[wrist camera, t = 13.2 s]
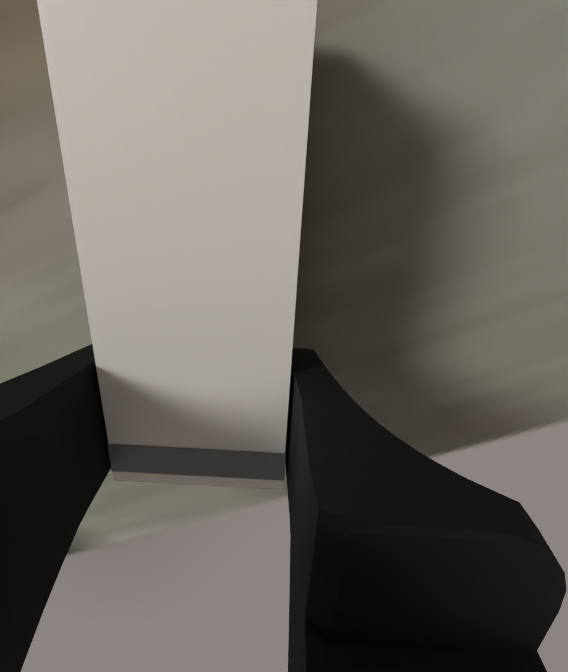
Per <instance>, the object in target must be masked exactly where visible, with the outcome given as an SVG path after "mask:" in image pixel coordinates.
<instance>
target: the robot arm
mask: <svg viewBox="0 0 568 672" xmlns="http://www.w3.org/2000/svg"><path fill="white" fill-rule="evenodd" d="M107 444H108V438H107V431H106V425H105V419H104V413H103V407H102V400H101V394H100V388H99V382H98V375H97V369H96V363H95V357H94V351H93V344H91V345H89V346H87V347H84V348H82V349H80V350H78V351H75V352H73V353H71V354H69V355H66V356H64V357H62V358H60V359H58V360H55V361H53V362H51V363H49V364H46V365H44V366H42V367H40V368H37V369H35V370H32V371H30V372H27V373H25V374H23V375H20V376H18V377H15V378H13V379H10V380H8V381H6V382H3V383H1V384H0V672H21V669H22V666H23V663H24V661H25V658H26V655H27V653H28V650H29V647H30V644H31V642H32V639H33V637H34V634H35V631H36V629H37V625H38V623H39V621H40V618H41V616H42V613H43V610H44V608H45V605H46V603H47V600H48V598H49V595H50V593H51V591H52V588H53V585H54V583H55V581H56V578H57V576H58V573H59V571H60V568H61V566H62V564H63V561H64V559H65V557H66V554H67V552H68V550H69V548H70V545H71V543H72V541H73V538H74V536H75V534H76V532H77V529H78V527H79V525H80V523H81V521H82V519H83V517H84V515H85V513H86V511H87V509H88V507H89V506H90V504H91V502H92V500H93V499H94V497H95V495H96V493H97V491H98V490H99V488H100V486H101V484H102V483H103V481H104V479H105V477H106V476H107V474H108V472H109V470H110V469H111V464H110V458H109V452H108V446H107ZM285 463H286V475H287V488H288V500H289V512H290V532H291V545H290V548H291V549H290V604H289V652H288V672H547V671H546V669H545V667H544V665H543V663H542V660H541V658H540V657H539V654H538V652H537V649H538V648H539V646H540V644H541V642H542V640H543V639H544V637H545V635H546V633H547V632H548V630H549V628H550V626H551V624H552V623H553V621H554V619H555V617H556V616H557V614H558V612H559V610H560V607H561V604H562V601H563V598H564V595H565V592H566V583H565V573H564V571H563V570H562V568H561V566H560V565H559V563H558V561H557V560H556V558H555V556H554V555H553V553H552V551H551V550H550V548H549V546H548V545H547V543H546V541H545V540H544V538H543V536H542V535H541V533H540V531H539V530H538V528H537V527H536V525H535V524H534V522H533V521H532V520H531V518H530V517H529V515H528V514H527V512H526V511H525V510H524V508H523V507H522V506H521V504H520V503H519V502H517V501H515V500H513V499H510V498H508V497H506V496H504V495H502V494H499V493H497V492H495V491H493V490H490V489H488V488H486V487H484V486H482V485H479V484H477V483H475V482H473V481H471V480H468V479H467V478H465V477H463V476H461V475H459V474H457V473H455V472H453V471H451V470H450V469H448V468H446V467H444V466H442V465H440V464H439V463H437V462H435V461H433V460H432V459H430V458H428V457H427V456H425V455H423V454H422V453H420V452H418V451H417V450H415V449H414V448H412V447H411V446H409V445H408V444H406V443H405V442H403V441H402V440H400V439H399V438H397V437H396V436H395V435H393V434H392V433H391V432H389V431H388V430H387V429H385V428H384V427H383V426H382V425H380V424H379V423H378V422H377V421H376V420H374V419H373V418H372V417H371V416H370V415H368V414H367V413H366V412H365V411H364V410H363V409H362V408H361V407H360V406H359V405H358V404H357V403H356V402H355V401H354V400H353V399H352V398H351V397H350V396H349V395H348V394H347V393H346V392H345V391H344V390H343V388H342V387H341V386H340V385H339V383H338V382H337V381H336V380H335V379H334V377H333V376H332V375H331V374H330V372H329V371H328V369H327V368H326V367H325V365H324V364H323V363H322V361H321V360H320V358H319V357H318V355H317V354H316V352H315V351H314V350H313V349H301V348H292V362H291V376H290V390H289V404H288V418H287V432H286V459H285Z"/></svg>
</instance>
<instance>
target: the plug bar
mask: <svg viewBox="0 0 568 672" xmlns="http://www.w3.org/2000/svg"><path fill="white" fill-rule="evenodd" d="M37 3H38V10H39V16H40V22H41V28H42V34H43V41H44V47H45V53H46V59H47V65H48V72H49V78H50V84H51V90H52V96H53V103H54V109H55V115H56V121H57V127H58V134H59V140H60V146H61V152H62V158H63V165H64V171H65V177H66V183H67V189H68V196H69V202H70V208H71V214H72V220H73V227H74V233H75V239H76V245H77V251H78V258H79V264H80V270H81V276H82V282H83V289H84V295H85V301H86V307H87V313H88V320H89V326H90V332H91V338H92V344H93V351H94V357H95V363H96V369H97V375H98V382H99V388H100V394H101V400H102V407H103V413H104V419H105V425H106V431H107V438H108V444H107V446H108V452H109V458H110V464H111V470H112V471H113V475H114V480H117V481H135V482H154V483H172V484H191V485H209V486H228V487H246V488H265V489H282V488H283V481H284V473H285V459H286V432H287V418H288V404H289V390H290V376H291V362H292V348H293V334H294V320H295V306H296V291H297V277H298V263H299V249H300V235H301V221H302V207H303V193H304V179H305V165H306V151H307V137H308V123H309V108H310V94H311V80H312V66H313V52H314V38H315V24H316V10H317V0H37Z"/></svg>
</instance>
